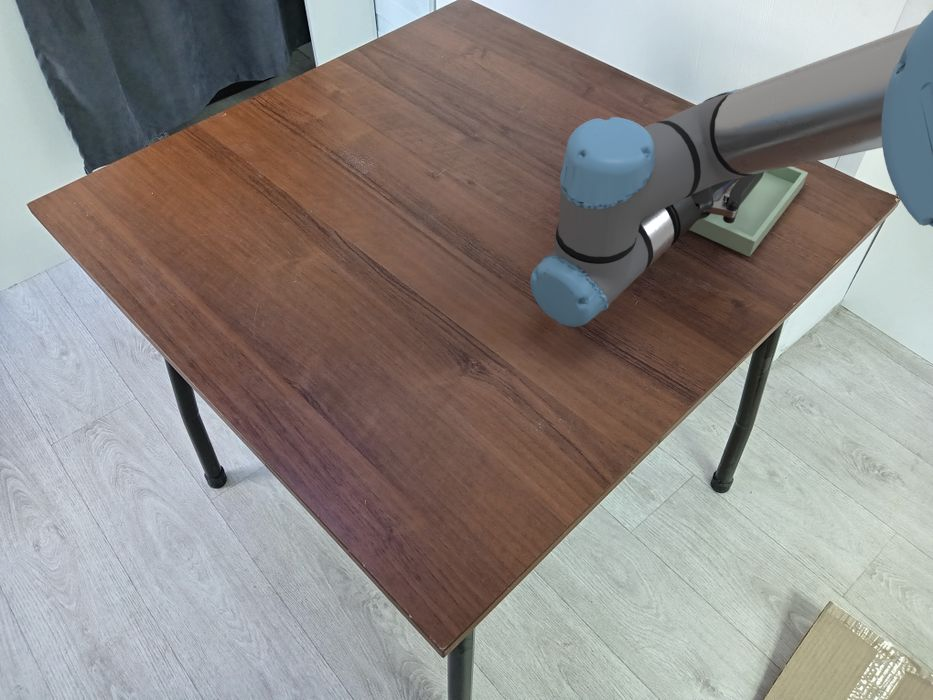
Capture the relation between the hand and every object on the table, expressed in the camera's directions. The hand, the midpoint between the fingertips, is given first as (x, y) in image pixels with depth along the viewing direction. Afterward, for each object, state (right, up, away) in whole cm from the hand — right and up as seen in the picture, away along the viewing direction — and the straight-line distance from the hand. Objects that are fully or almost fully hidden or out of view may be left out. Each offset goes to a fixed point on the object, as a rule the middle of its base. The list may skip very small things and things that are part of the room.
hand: (759, 120), depth 92 cm
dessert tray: (-4, -8, +4) cm, 10 cm away
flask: (-3, -7, +3) cm, 8 cm away
